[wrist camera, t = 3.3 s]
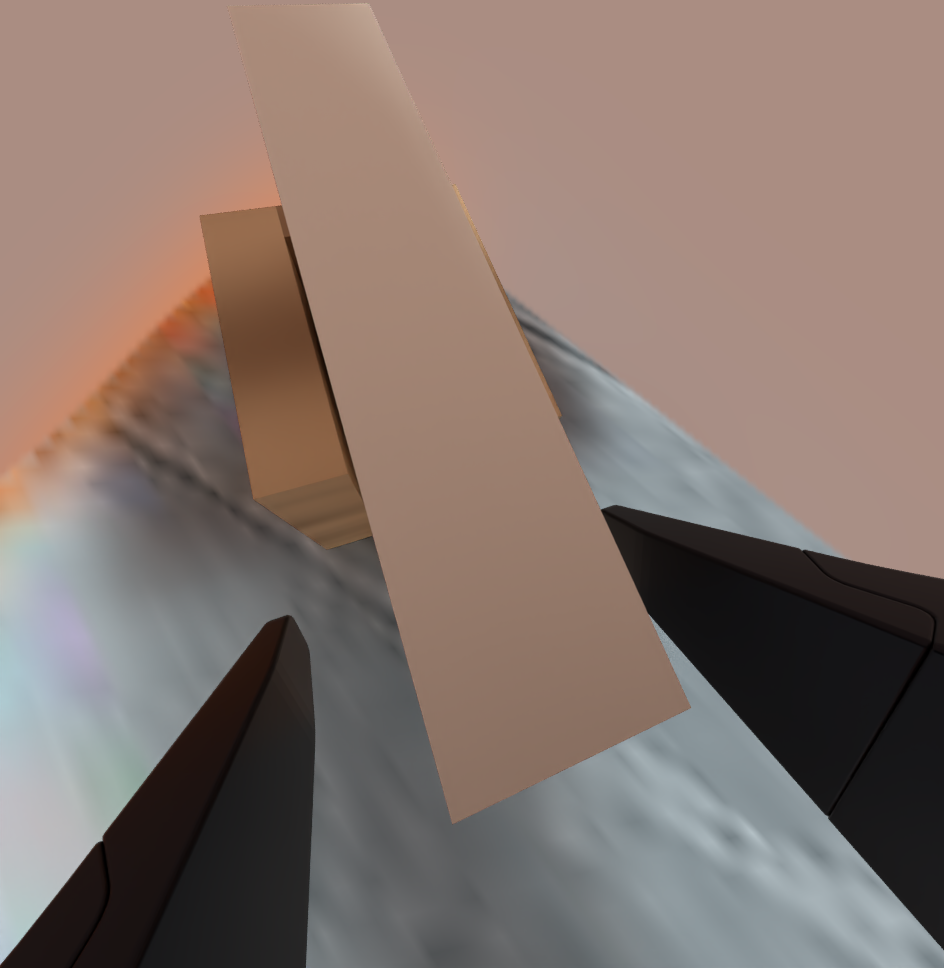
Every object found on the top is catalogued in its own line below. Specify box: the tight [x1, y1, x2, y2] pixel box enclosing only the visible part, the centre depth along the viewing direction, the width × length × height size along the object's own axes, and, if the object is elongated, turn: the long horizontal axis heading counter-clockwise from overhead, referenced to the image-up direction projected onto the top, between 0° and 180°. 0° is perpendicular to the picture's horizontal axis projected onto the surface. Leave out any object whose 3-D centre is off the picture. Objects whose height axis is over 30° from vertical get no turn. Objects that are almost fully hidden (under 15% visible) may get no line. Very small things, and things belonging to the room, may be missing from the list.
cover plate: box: [227, 3, 691, 824], centre depth 10 cm, size 12×2×11 cm, turn 19°
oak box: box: [200, 184, 562, 550], centre depth 13 cm, size 8×7×6 cm
